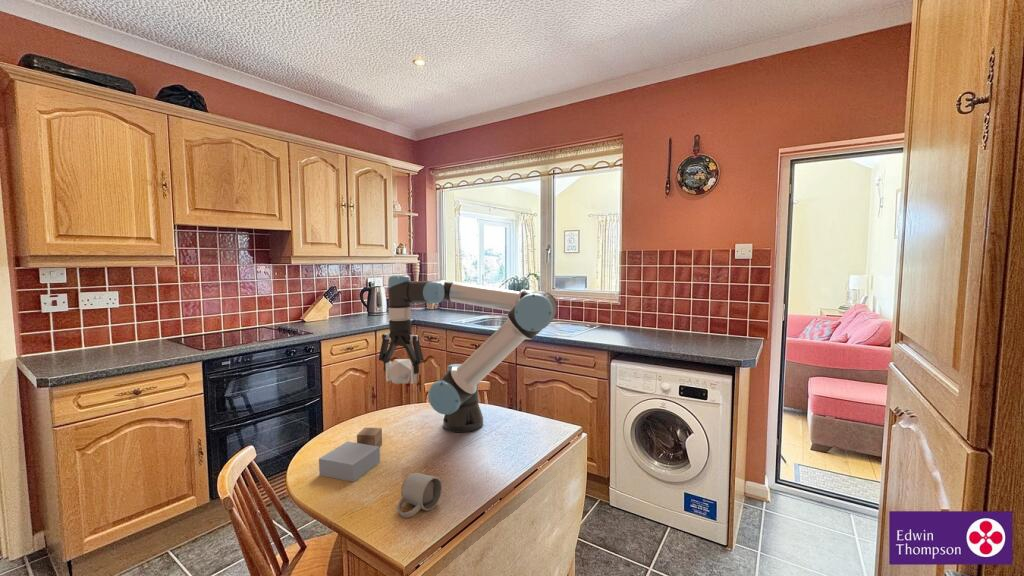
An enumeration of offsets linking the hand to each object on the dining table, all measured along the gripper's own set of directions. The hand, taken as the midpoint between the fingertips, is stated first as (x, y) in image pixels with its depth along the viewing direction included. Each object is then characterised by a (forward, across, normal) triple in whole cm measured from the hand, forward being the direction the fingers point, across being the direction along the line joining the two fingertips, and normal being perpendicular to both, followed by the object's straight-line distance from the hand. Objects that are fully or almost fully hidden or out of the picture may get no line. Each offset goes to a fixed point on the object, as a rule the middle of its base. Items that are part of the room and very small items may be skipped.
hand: (401, 381), depth 147 cm
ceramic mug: (+20, -28, +37) cm, 51 cm away
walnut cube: (+20, +4, +13) cm, 24 cm away
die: (0, 0, 0) cm, 0 cm away
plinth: (+19, +1, +26) cm, 32 cm away
